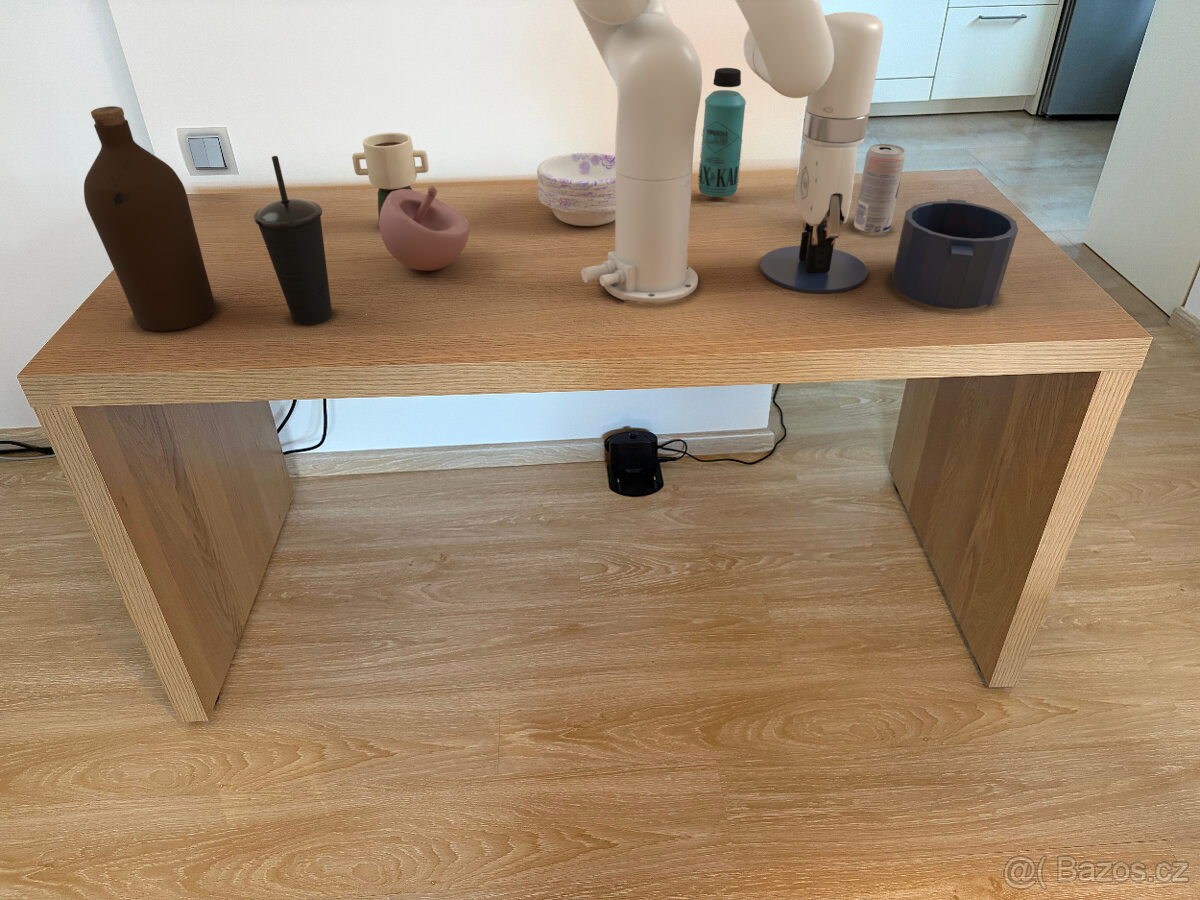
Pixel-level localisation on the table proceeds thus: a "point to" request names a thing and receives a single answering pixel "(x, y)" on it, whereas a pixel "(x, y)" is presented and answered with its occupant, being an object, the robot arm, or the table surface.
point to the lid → (792, 274)
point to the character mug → (390, 163)
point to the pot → (953, 254)
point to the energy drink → (879, 188)
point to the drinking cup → (297, 253)
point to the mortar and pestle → (422, 229)
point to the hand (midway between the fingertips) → (813, 264)
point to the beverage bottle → (722, 136)
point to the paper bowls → (579, 188)
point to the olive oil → (146, 229)
